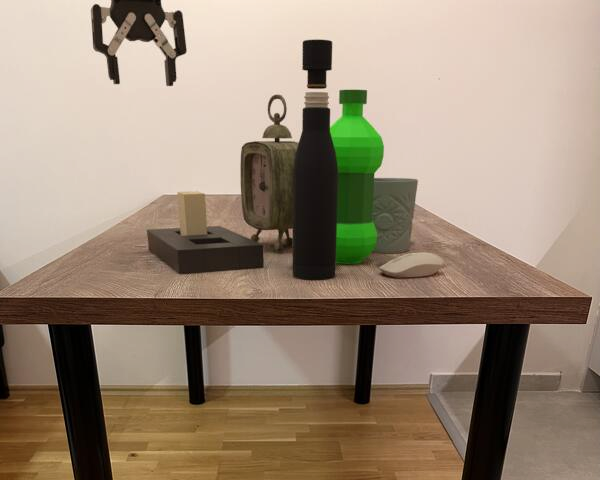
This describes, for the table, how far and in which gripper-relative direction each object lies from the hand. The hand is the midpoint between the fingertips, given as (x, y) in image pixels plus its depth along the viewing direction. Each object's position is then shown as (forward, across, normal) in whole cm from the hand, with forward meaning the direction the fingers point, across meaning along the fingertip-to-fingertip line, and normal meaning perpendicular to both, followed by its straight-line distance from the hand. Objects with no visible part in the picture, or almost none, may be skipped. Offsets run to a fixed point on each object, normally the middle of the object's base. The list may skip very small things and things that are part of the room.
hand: (143, 85), depth 103 cm
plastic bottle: (+26, +27, -22) cm, 43 cm away
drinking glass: (+26, +39, -14) cm, 49 cm away
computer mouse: (+26, +31, -35) cm, 54 cm away
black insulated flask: (+26, +17, -30) cm, 44 cm away
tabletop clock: (+26, +22, -4) cm, 34 cm away
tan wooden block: (+26, +5, -5) cm, 27 cm away
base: (+26, +5, -10) cm, 28 cm away
